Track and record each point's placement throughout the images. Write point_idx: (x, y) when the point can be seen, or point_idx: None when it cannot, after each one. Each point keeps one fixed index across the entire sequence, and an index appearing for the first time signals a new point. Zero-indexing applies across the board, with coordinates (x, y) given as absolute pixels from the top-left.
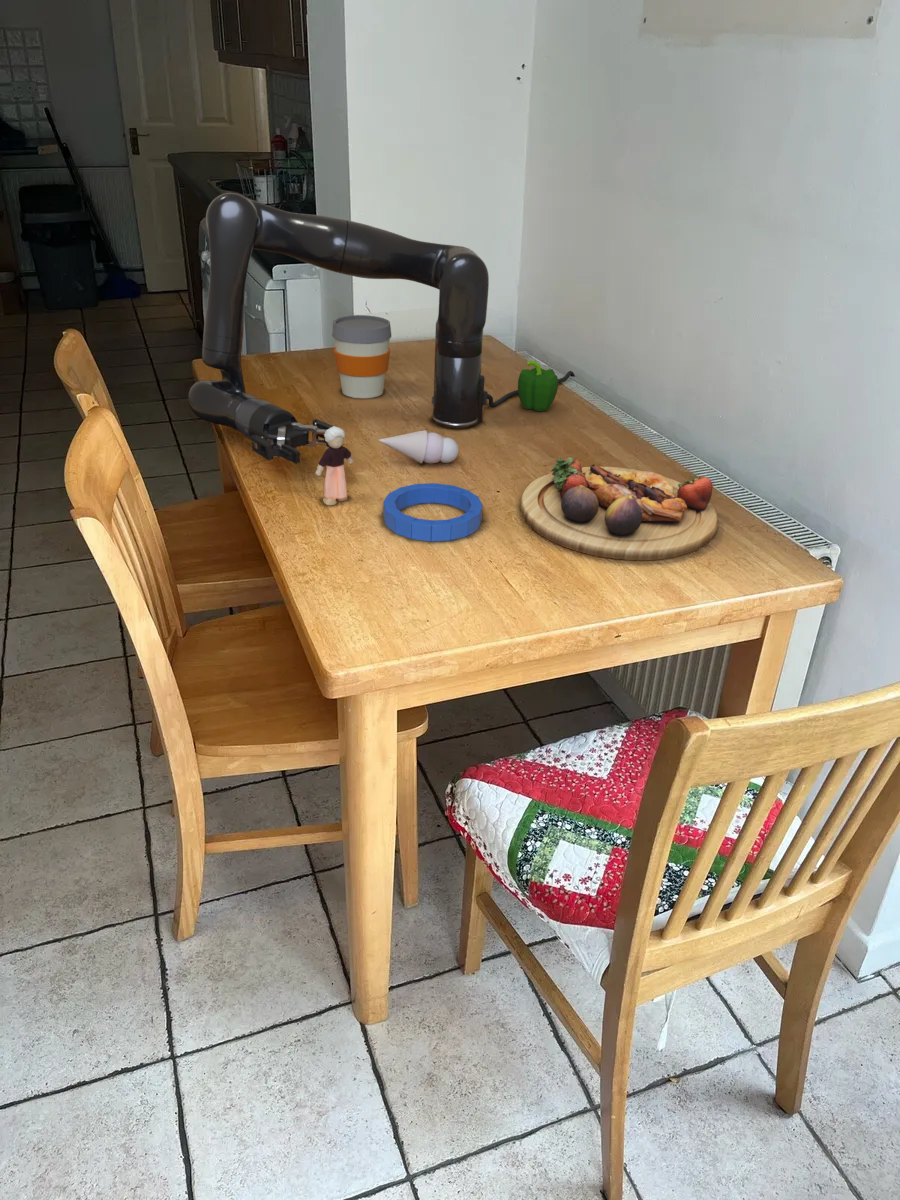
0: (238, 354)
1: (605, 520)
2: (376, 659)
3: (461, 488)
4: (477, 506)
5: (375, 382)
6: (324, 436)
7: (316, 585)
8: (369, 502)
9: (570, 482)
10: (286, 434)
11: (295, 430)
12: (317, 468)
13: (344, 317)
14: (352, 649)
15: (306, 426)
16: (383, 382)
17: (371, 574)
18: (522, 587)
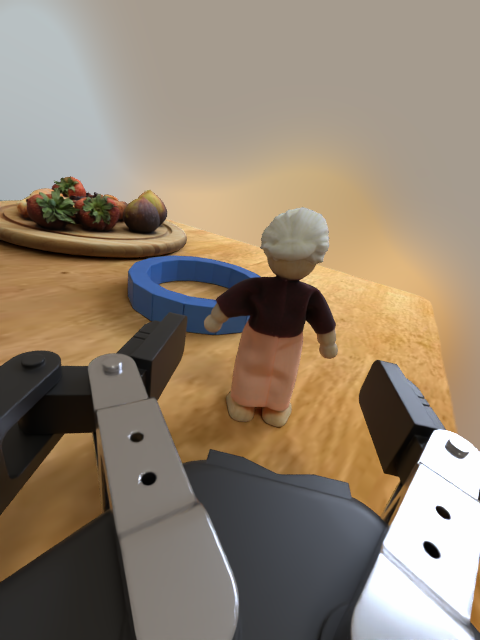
0: None
1: (161, 216)
2: (395, 289)
3: (134, 265)
4: (178, 257)
5: None
6: (327, 249)
7: (410, 329)
8: (213, 361)
9: (116, 204)
10: (362, 553)
11: (229, 561)
12: (335, 338)
13: None
14: (407, 297)
15: (148, 463)
16: None
17: (347, 309)
18: (256, 260)
